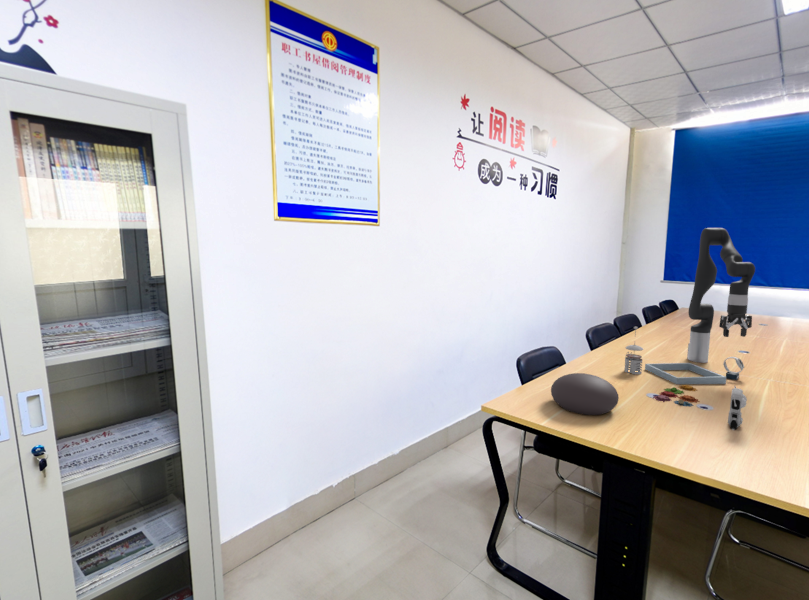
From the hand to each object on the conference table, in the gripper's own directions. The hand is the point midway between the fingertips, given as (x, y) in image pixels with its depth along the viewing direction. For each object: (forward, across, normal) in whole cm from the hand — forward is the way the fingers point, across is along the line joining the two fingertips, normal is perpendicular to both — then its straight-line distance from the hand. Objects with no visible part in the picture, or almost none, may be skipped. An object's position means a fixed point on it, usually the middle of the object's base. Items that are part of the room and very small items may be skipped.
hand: (734, 336), depth 203 cm
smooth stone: (+22, +92, +35) cm, 100 cm away
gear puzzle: (+22, +42, +24) cm, 53 cm away
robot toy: (+22, +45, +55) cm, 74 cm away
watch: (+22, 0, 0) cm, 22 cm away
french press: (+22, +44, -10) cm, 50 cm away
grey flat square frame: (+21, +22, -3) cm, 31 cm away
